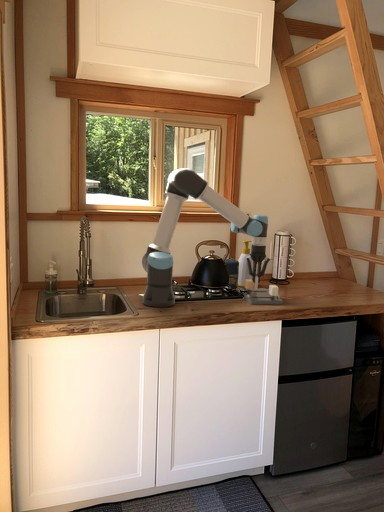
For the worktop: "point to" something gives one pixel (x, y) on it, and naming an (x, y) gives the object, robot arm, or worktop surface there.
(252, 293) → the console
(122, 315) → the worktop surface
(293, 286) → the worktop surface
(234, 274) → the canister
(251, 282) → the block
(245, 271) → the soap bottle
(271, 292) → the block
